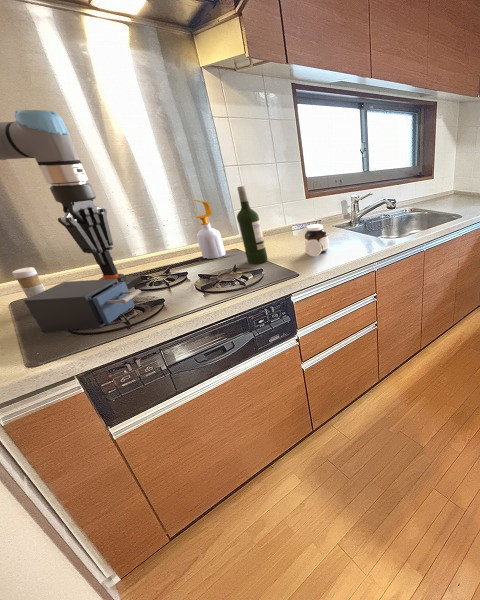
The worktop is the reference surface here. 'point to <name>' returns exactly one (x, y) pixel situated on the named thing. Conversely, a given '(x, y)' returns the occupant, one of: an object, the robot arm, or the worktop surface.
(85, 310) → the grey drawer cabinet
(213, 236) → the soap bottle
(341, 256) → the worktop surface
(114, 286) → the blue drawer
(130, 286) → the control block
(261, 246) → the wine bottle
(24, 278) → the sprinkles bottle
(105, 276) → the button
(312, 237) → the spread jar
